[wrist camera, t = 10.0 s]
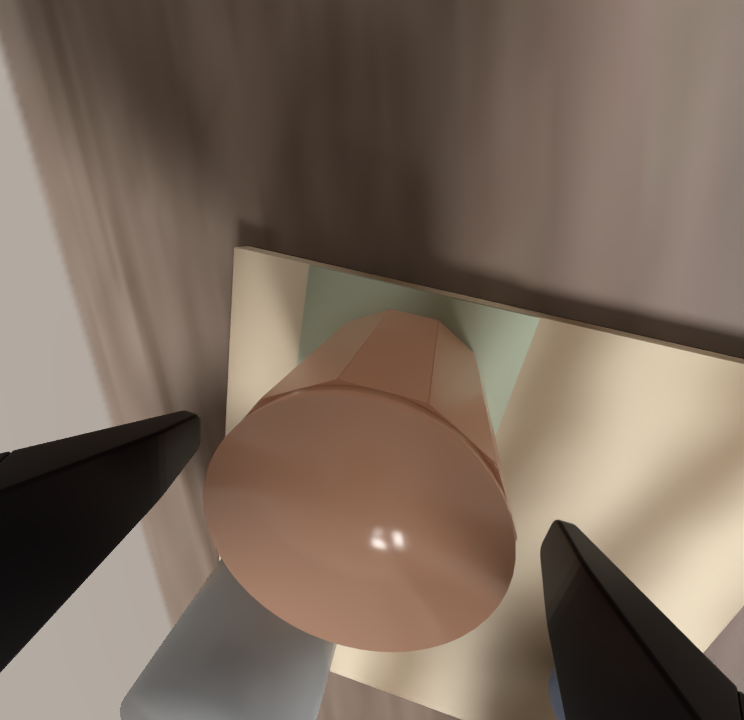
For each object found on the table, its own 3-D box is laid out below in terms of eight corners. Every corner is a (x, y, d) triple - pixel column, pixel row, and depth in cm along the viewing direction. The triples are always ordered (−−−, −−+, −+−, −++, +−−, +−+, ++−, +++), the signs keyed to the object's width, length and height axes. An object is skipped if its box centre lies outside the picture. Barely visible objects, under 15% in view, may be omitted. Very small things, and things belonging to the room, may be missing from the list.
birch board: (879, 389, 12) (924, 406, 10) (594, 745, 20) (603, 776, 19) (248, 246, 14) (231, 247, 13) (225, 612, 22) (213, 632, 21)
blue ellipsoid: (624, 654, 16) (661, 743, 13) (596, 693, 17) (624, 783, 14) (555, 631, 16) (577, 713, 14) (531, 671, 17) (547, 754, 15)
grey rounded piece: (364, 540, 17) (310, 735, 10) (342, 628, 19) (287, 832, 13) (237, 500, 18) (113, 657, 11) (231, 589, 20) (126, 762, 13)
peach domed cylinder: (455, 484, 15) (461, 688, 8) (306, 442, 15) (201, 596, 9) (507, 335, 12) (571, 453, 6) (327, 293, 13) (205, 357, 6)
